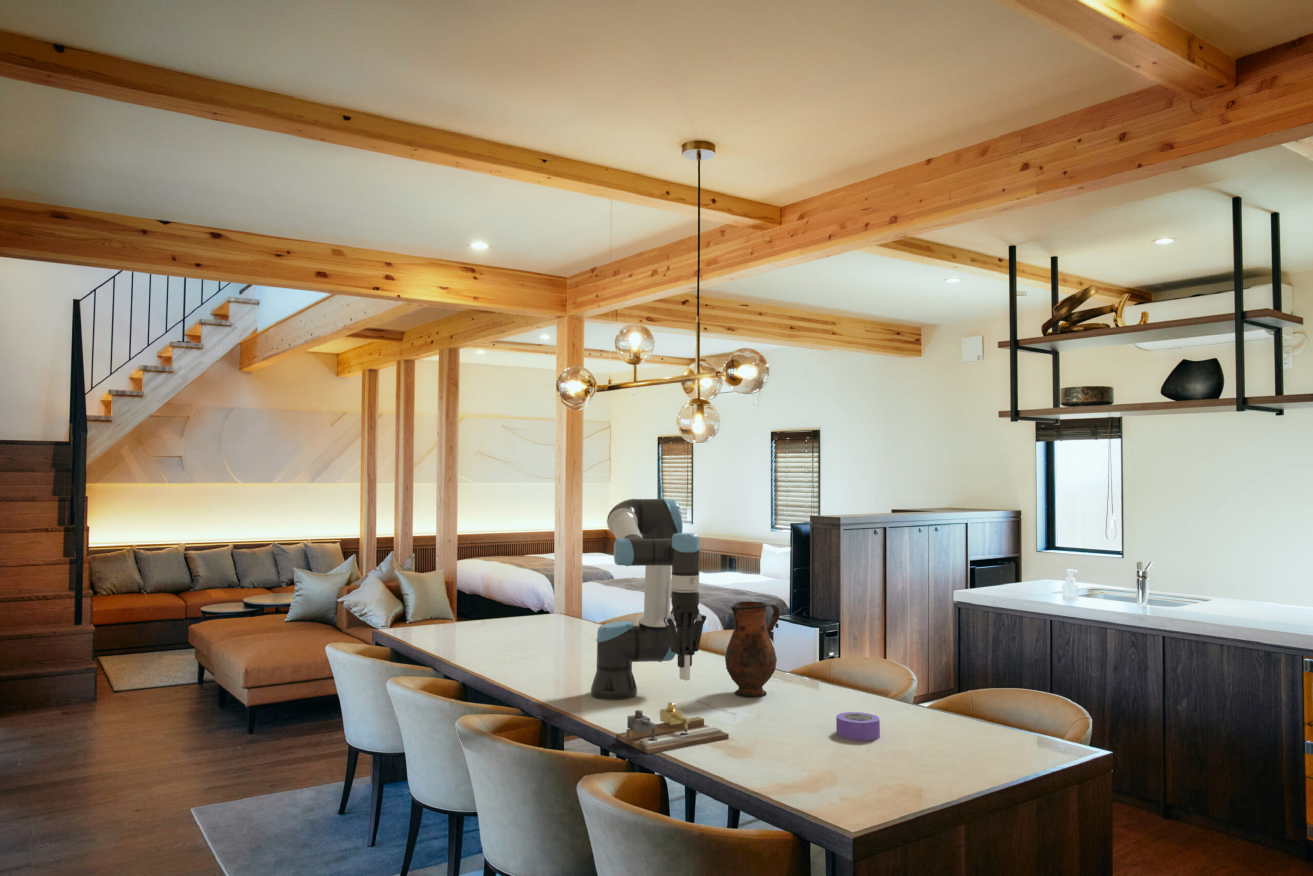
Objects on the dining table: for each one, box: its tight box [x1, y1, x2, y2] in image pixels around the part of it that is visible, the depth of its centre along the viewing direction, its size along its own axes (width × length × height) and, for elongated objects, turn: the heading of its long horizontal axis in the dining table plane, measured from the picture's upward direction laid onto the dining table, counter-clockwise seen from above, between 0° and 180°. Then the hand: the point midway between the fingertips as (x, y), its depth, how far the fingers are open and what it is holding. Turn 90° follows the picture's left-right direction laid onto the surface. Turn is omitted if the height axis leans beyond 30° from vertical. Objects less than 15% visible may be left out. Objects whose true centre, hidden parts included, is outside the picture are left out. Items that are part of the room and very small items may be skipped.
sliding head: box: [659, 702, 690, 732], centre depth 231 cm, size 10×4×6 cm, turn 34°
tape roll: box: [835, 711, 881, 742], centre depth 236 cm, size 12×12×5 cm
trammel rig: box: [615, 709, 729, 755], centre depth 230 cm, size 16×26×8 cm, turn 124°
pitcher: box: [724, 601, 780, 699], centre depth 283 cm, size 17×21×30 cm
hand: (684, 679), depth 228 cm, fingers closed
